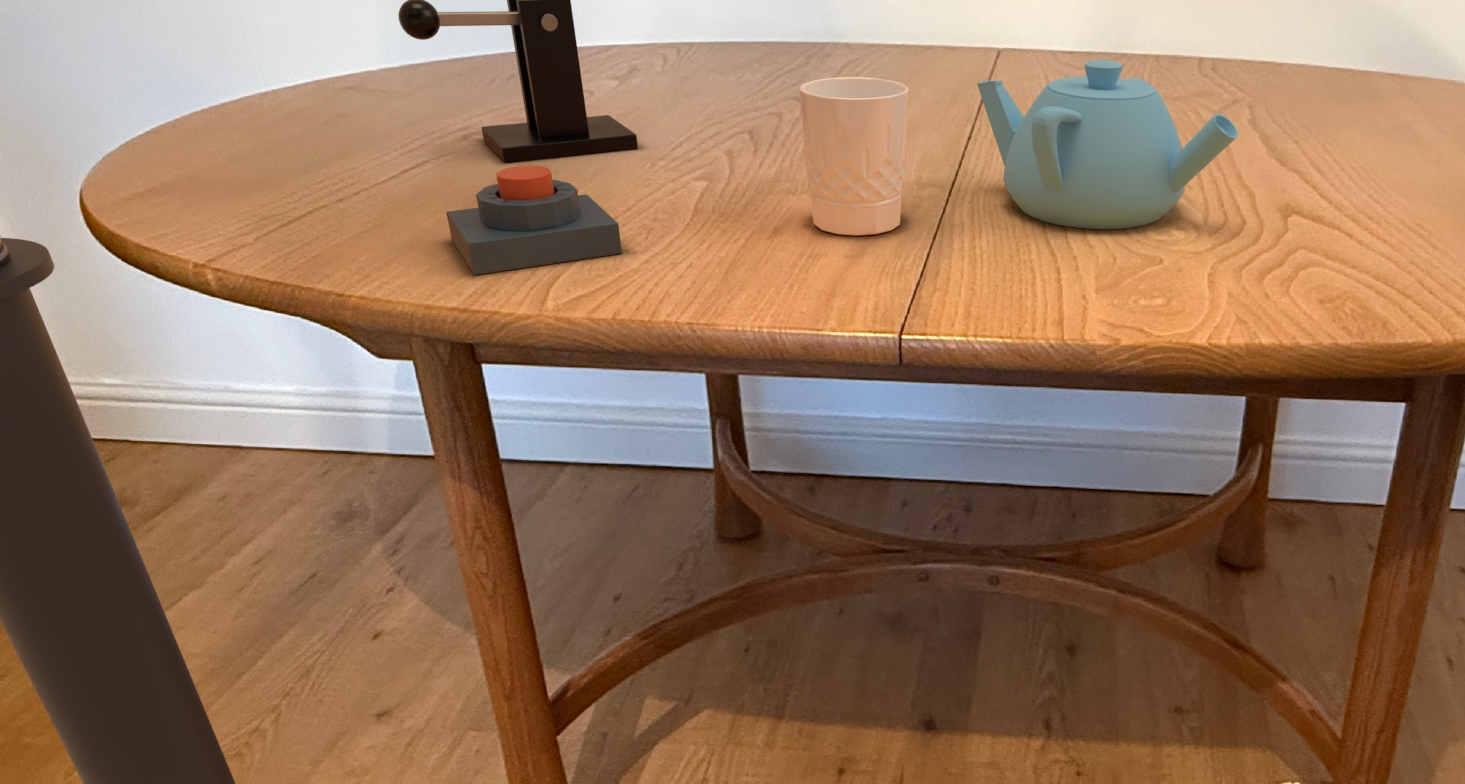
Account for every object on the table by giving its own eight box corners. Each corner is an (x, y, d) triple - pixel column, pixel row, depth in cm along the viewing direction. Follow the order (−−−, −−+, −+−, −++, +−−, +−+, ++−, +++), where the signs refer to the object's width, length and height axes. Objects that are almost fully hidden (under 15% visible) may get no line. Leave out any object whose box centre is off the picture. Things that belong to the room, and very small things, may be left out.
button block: (474, 275, 76) (462, 216, 74) (452, 241, 82) (440, 185, 80) (622, 253, 81) (615, 197, 79) (591, 222, 86) (583, 169, 84)
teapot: (1042, 248, 84) (1053, 88, 78) (971, 186, 98) (975, 46, 92) (1229, 234, 88) (1253, 81, 82) (1135, 176, 102) (1149, 42, 96)
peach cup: (835, 203, 92) (831, 73, 87) (924, 216, 90) (925, 83, 85) (786, 230, 86) (779, 91, 81) (881, 244, 84) (879, 102, 78)
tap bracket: (504, 163, 101) (476, 5, 94) (483, 140, 107) (455, -8, 101) (638, 148, 106) (620, -1, 99) (610, 128, 113) (592, -14, 106)
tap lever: (405, 42, 95) (398, 1, 94) (399, 37, 97) (392, -4, 96) (563, 39, 101) (559, 0, 100) (554, 34, 103) (550, -5, 102)
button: (507, 207, 77) (502, 181, 76) (495, 193, 80) (491, 168, 79) (560, 200, 79) (556, 175, 78) (547, 187, 82) (543, 162, 81)
